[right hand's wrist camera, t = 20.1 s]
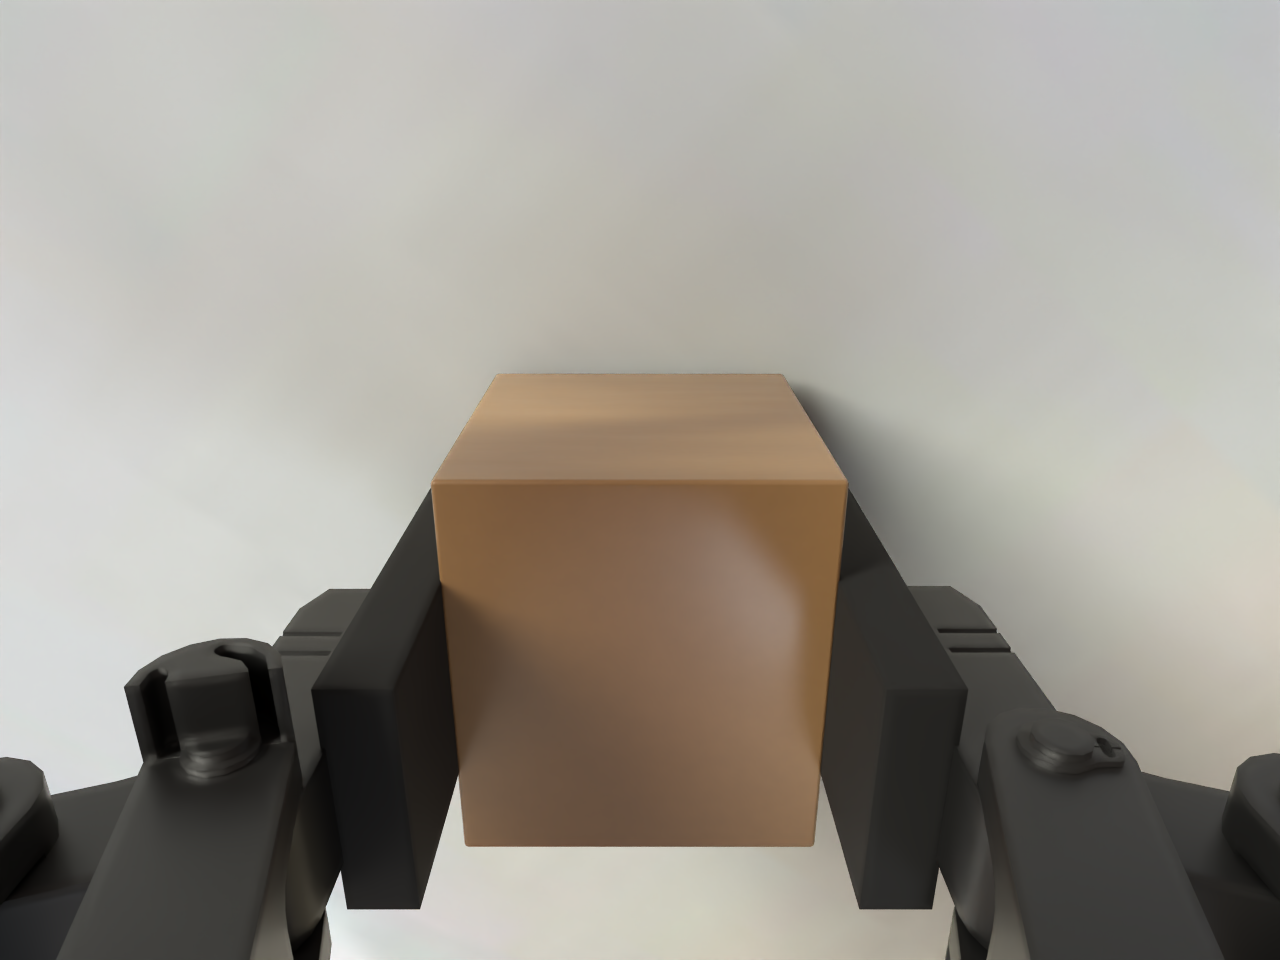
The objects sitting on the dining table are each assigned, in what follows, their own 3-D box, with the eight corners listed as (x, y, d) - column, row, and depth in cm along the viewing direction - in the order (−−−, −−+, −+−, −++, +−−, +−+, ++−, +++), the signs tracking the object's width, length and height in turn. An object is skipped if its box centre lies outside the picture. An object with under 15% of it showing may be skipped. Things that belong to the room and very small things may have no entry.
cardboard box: (783, 373, 14) (850, 480, 9) (766, 651, 16) (815, 849, 11) (496, 372, 14) (429, 480, 9) (513, 651, 16) (463, 848, 11)
